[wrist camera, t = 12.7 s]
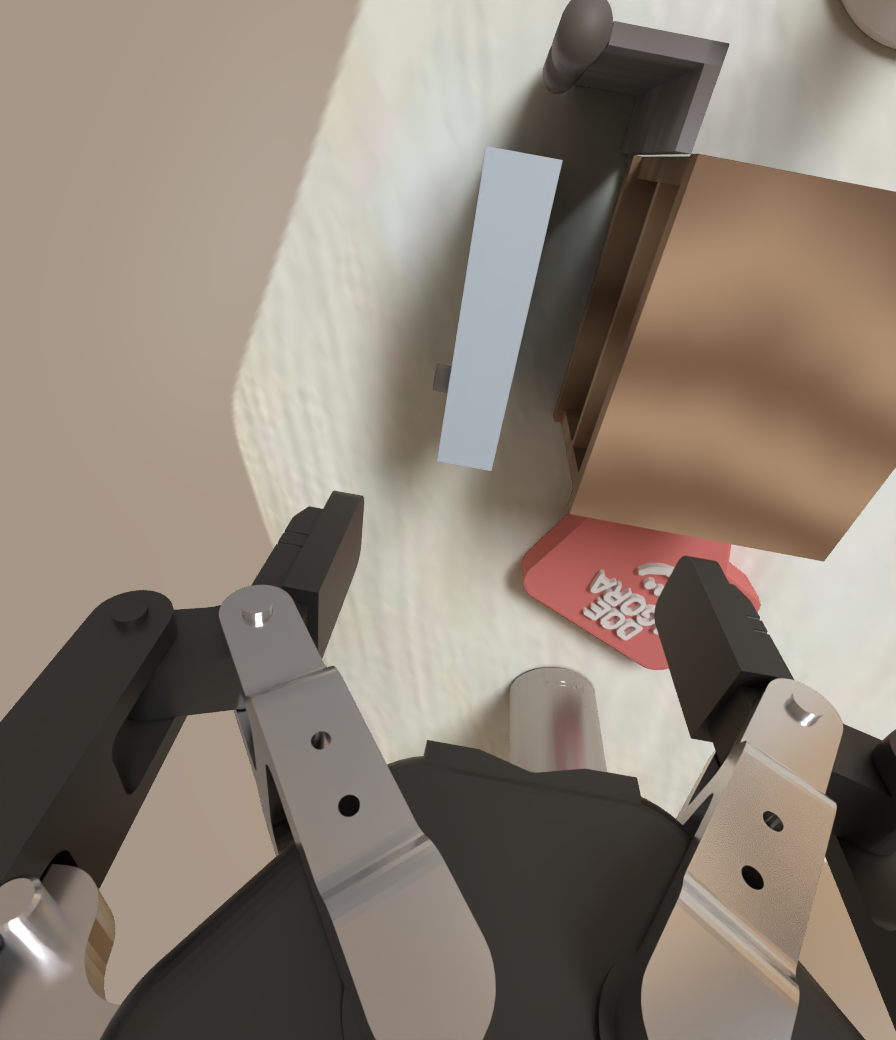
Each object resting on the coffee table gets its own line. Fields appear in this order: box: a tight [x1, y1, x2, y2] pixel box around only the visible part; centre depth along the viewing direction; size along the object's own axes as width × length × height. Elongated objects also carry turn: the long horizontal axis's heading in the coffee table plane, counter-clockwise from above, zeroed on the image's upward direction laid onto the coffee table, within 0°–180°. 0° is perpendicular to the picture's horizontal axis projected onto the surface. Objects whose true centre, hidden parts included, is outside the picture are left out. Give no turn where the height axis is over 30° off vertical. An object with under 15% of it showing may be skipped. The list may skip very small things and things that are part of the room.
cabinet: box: [543, 0, 896, 561], centre depth 27 cm, size 20×20×13 cm
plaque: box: [522, 514, 761, 670], centre depth 44 cm, size 18×4×15 cm
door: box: [433, 146, 563, 471], centre depth 29 cm, size 4×14×12 cm, turn 171°
